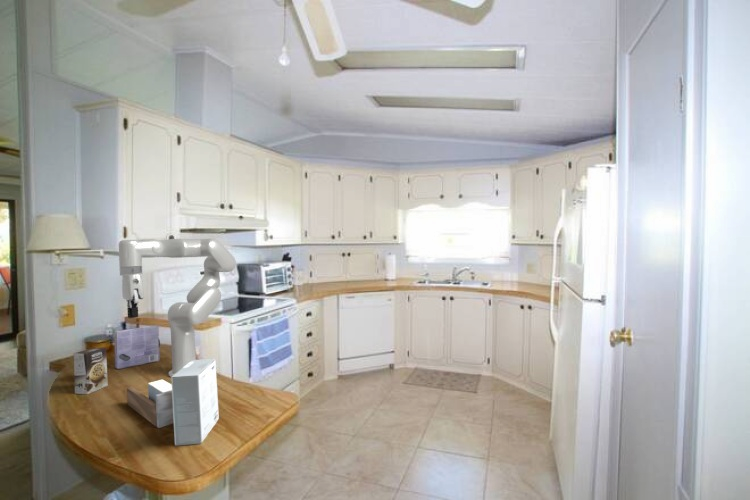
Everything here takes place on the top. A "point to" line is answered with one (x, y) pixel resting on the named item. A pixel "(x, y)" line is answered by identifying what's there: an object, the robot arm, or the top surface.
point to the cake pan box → (136, 346)
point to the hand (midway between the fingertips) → (133, 317)
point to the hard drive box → (194, 401)
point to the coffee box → (90, 370)
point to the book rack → (152, 407)
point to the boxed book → (158, 388)
